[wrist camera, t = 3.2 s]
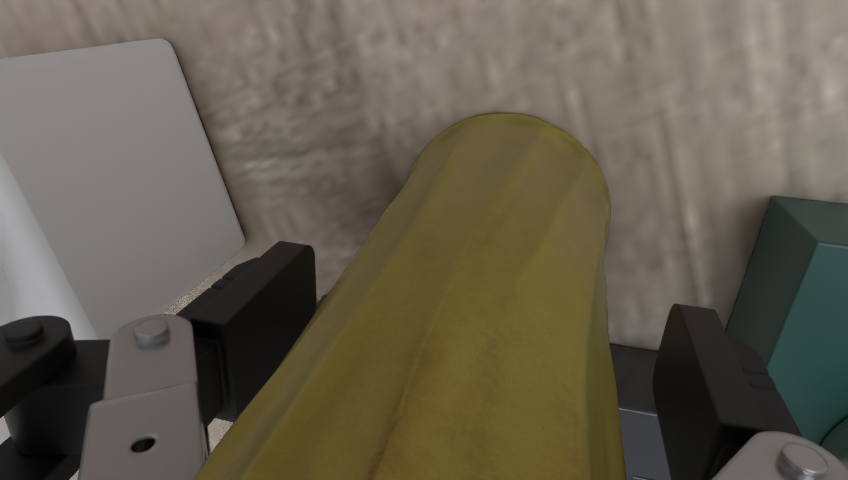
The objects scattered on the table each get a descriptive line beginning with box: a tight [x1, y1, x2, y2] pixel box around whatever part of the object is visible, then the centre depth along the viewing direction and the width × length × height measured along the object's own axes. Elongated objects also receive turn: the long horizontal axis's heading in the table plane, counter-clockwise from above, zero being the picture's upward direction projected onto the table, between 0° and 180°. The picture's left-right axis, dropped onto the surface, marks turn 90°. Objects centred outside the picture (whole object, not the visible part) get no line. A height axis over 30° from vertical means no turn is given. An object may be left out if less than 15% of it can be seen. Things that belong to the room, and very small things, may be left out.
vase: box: [193, 113, 627, 480], centre depth 10 cm, size 6×6×14 cm
